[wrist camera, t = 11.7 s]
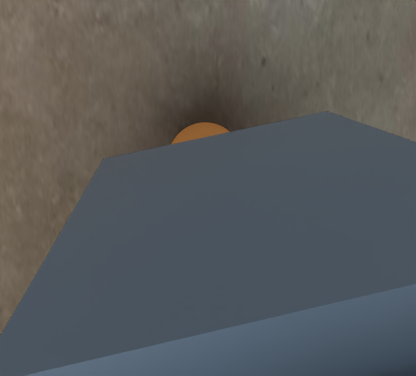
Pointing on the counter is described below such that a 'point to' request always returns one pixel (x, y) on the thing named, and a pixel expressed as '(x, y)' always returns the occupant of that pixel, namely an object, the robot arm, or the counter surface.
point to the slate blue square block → (233, 261)
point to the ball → (199, 131)
